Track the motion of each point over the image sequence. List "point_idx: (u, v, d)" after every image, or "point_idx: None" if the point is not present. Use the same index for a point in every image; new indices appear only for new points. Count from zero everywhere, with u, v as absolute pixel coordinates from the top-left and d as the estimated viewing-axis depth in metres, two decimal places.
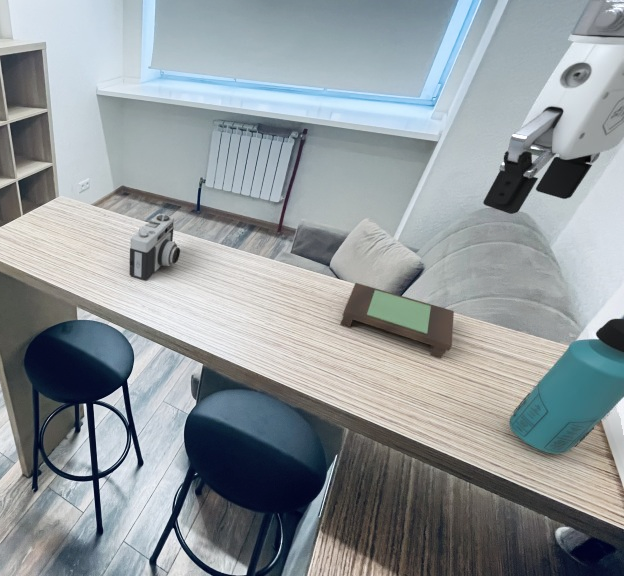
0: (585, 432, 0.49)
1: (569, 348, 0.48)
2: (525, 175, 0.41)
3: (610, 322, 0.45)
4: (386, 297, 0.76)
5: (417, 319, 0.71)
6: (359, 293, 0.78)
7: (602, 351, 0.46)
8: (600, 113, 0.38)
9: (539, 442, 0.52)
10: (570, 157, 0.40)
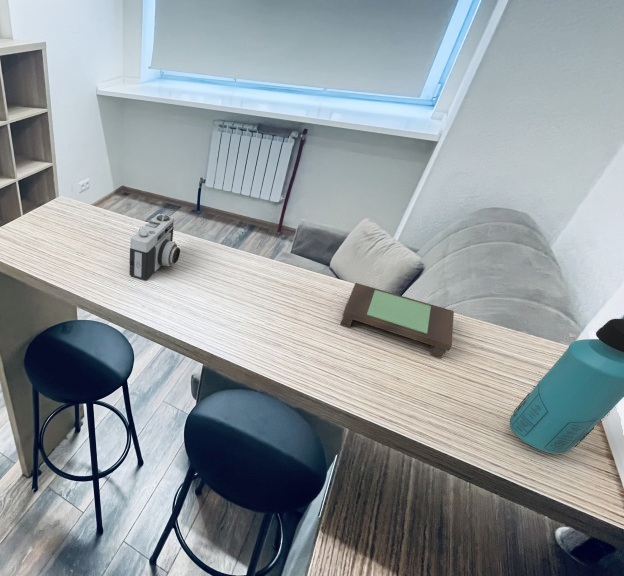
0: (585, 432, 0.49)
1: (569, 348, 0.48)
2: None
3: (610, 322, 0.45)
4: (386, 297, 0.76)
5: (417, 319, 0.71)
6: (359, 293, 0.78)
7: (602, 351, 0.46)
8: None
9: (539, 442, 0.52)
10: None
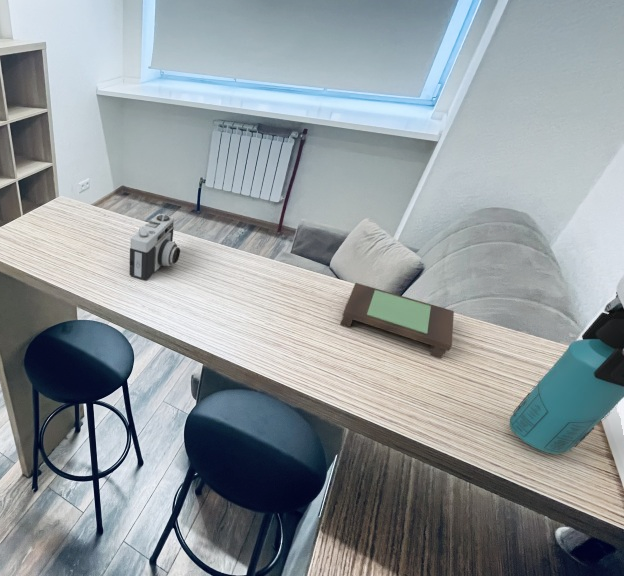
0: (585, 432, 0.49)
1: (569, 348, 0.48)
2: None
3: (610, 322, 0.45)
4: (386, 297, 0.76)
5: (417, 319, 0.71)
6: (359, 293, 0.78)
7: (602, 351, 0.46)
8: None
9: (539, 442, 0.52)
10: None
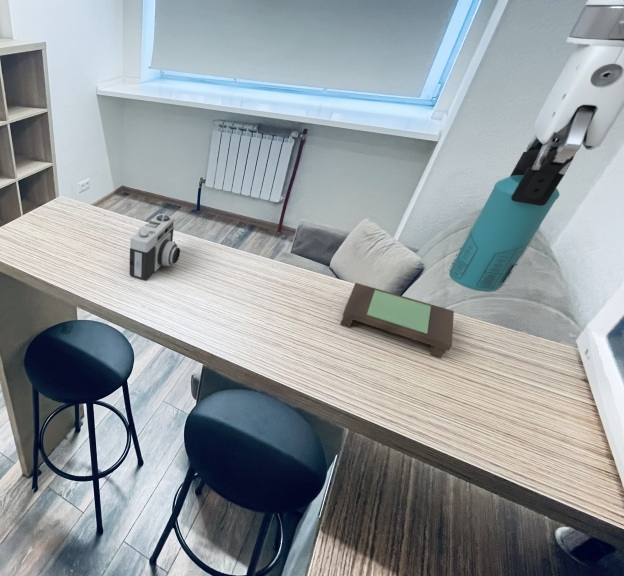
0: (510, 264, 0.55)
1: (494, 185, 0.53)
2: (560, 173, 0.46)
3: None
4: (386, 297, 0.76)
5: (417, 319, 0.71)
6: (359, 293, 0.78)
7: None
8: None
9: (472, 281, 0.57)
10: (596, 147, 0.44)
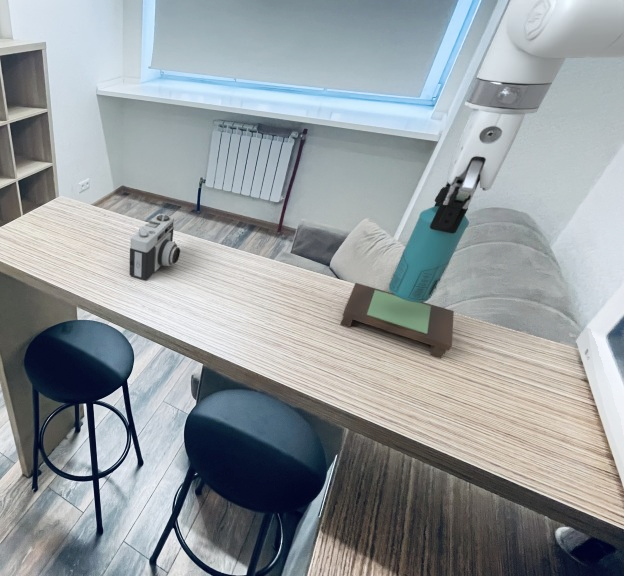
0: (434, 280, 0.66)
1: None
2: (463, 208, 0.57)
3: (442, 188, 0.61)
4: (386, 297, 0.76)
5: (417, 319, 0.71)
6: (359, 293, 0.78)
7: None
8: None
9: (405, 293, 0.68)
10: (488, 189, 0.55)
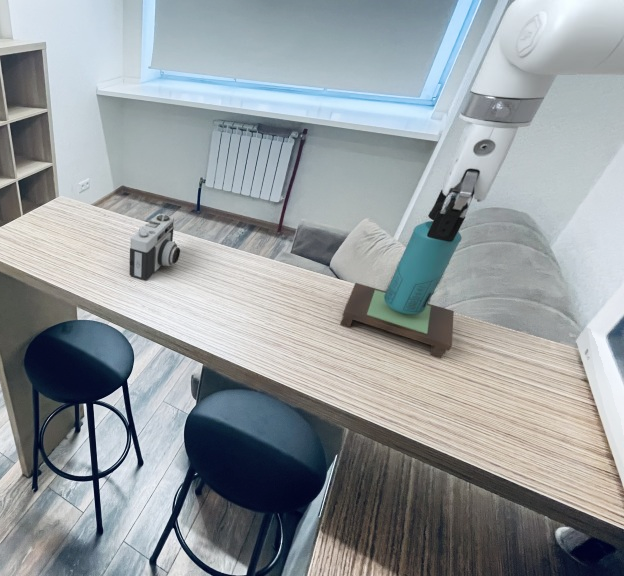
0: (428, 293, 0.67)
1: (414, 229, 0.66)
2: (461, 216, 0.56)
3: (435, 204, 0.63)
4: None
5: (417, 319, 0.71)
6: (359, 293, 0.78)
7: None
8: None
9: (400, 306, 0.70)
10: None
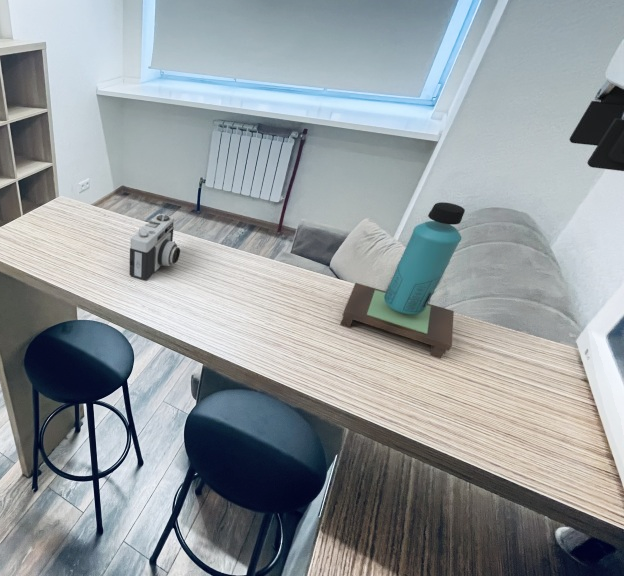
0: (428, 293, 0.67)
1: None
2: None
3: (435, 204, 0.63)
4: None
5: (417, 319, 0.71)
6: (359, 293, 0.78)
7: (432, 226, 0.63)
8: None
9: (400, 306, 0.70)
10: None
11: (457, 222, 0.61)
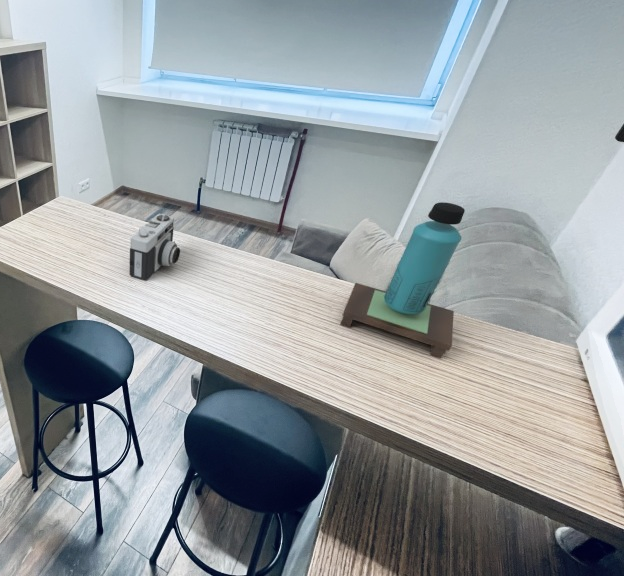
0: (428, 293, 0.67)
1: None
2: None
3: (435, 204, 0.63)
4: None
5: (417, 319, 0.71)
6: (359, 293, 0.78)
7: (432, 226, 0.63)
8: None
9: (400, 306, 0.70)
10: None
11: (457, 222, 0.61)
